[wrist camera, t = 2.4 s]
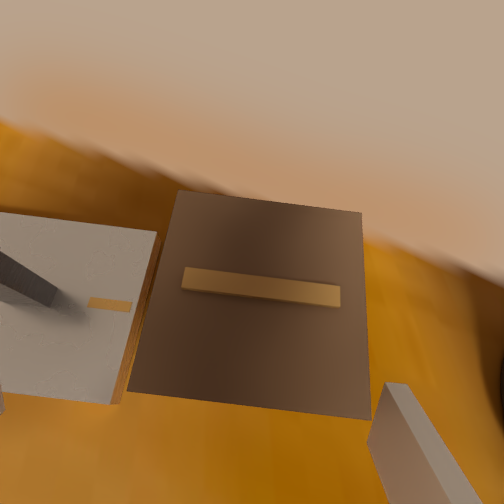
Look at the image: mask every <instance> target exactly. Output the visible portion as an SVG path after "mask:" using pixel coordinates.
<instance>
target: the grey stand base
mask: <svg viewBox="0 0 504 504" xmlns="http://www.w3.org/2000/svg"><path fill="white" fill-rule="evenodd" d="M161 243H162V242H161V240H160V238H159V235H158V233H157V232H155V231H147V230H139V229H131V228H123V227H115V226H107V225H99V224H91V223H83V222H75V221H67V220H59V219H51V218H43V217H35V216H28V215H20V214H12V213H4V212H0V384H1V390H2V392H8V393H17V394H25V395H33V396H42V397H50V398H58V399H67V400H75V401H83V402H92V403H100V404H108V405H113V404H119V403H120V399H121V396H122V392H123V388H124V384H125V380H126V377H127V373H128V369H129V365H130V361H131V357H132V354H133V350H134V346H135V342H136V338H137V334H138V331H139V327H140V323H141V319H142V315H143V311H144V308H145V304H146V300H147V296H148V292H149V289H150V285H151V281H152V277H153V273H154V269H155V266H156V262H157V258H158V254H159V250H160V246H161Z"/></svg>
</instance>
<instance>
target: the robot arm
mask: <svg viewBox="0 0 504 504" xmlns="http://www.w3.org/2000/svg"><path fill="white" fill-rule="evenodd" d="M501 395H502V403H503V410H504V360H503V365H502V373H501ZM4 411H5V406H4V400H3V395H2V390H1V384H0V415H1V414H2V413H3V412H4ZM367 445H368V447H369V450H370V453H371V455H372V458H373V461H374V463H375V466H376V469H377V471H378V474H379V477H380V479H381V482H382V485H383V487H384V490H385V493H386V495H387V498H388V501H389V503H390V504H483V503H482V501H481V500H480V498H479V497H478V495H477V494H476V492H475V490H474V489H473V487H472V486H471V484H470V483H469V481H468V479H467V478H466V476H465V475H464V473H463V472H462V470H461V468H460V467H459V465H458V464H457V462H456V461H455V459H454V457H453V456H452V454H451V453H450V451H449V450H448V448H447V446H446V445H445V443H444V442H443V440H442V439H441V437H440V435H439V434H438V432H437V431H436V429H435V428H434V426H433V424H432V423H431V421H430V420H429V418H428V417H427V415H426V413H425V412H424V410H423V409H422V407H421V406H420V404H419V402H418V401H417V399H416V398H415V396H414V395H413V393H412V391H411V390H410V388H409V387H408V385H407V384H399V383H389V382H385V383H384V387H383V390H382V393H381V397H380V400H379V403H378V407H377V410H376V413H375V417H374V420H373V423H372V427H371V430H370V433H369V437H368V440H367Z"/></svg>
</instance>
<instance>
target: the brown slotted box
mask: <svg viewBox="0 0 504 504" xmlns="http://www.w3.org/2000/svg"><path fill="white" fill-rule="evenodd" d="M127 391H129V392H138V393H146V394H154V395H163V396H171V397H179V398H187V399H196V400H204V401H212V402H221V403H229V404H237V405H246V406H254V407H262V408H271V409H279V410H287V411H295V412H304V413H312V414H320V415H329V416H337V417H345V418H354V419H362V420H370V421H372V418H371V397H370V377H369V356H368V335H367V315H366V294H365V273H364V253H363V232H362V213H359V212H351V211H342V210H335V209H327V208H319V207H312V206H304V205H296V204H288V203H280V202H272V201H264V200H256V199H249V198H241V197H233V196H225V195H217V194H209V193H201V192H193V191H186V190H178V192H177V196H176V200H175V204H174V208H173V212H172V216H171V220H170V224H169V227H168V231H167V235H166V239H165V243H164V247H163V251H162V255H161V259H160V263H159V266H158V270H157V274H156V278H155V282H154V286H153V290H152V294H151V298H150V302H149V305H148V309H147V313H146V317H145V321H144V325H143V329H142V333H141V337H140V341H139V344H138V348H137V352H136V356H135V360H134V364H133V368H132V372H131V376H130V380H129V383H128V387H127Z"/></svg>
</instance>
